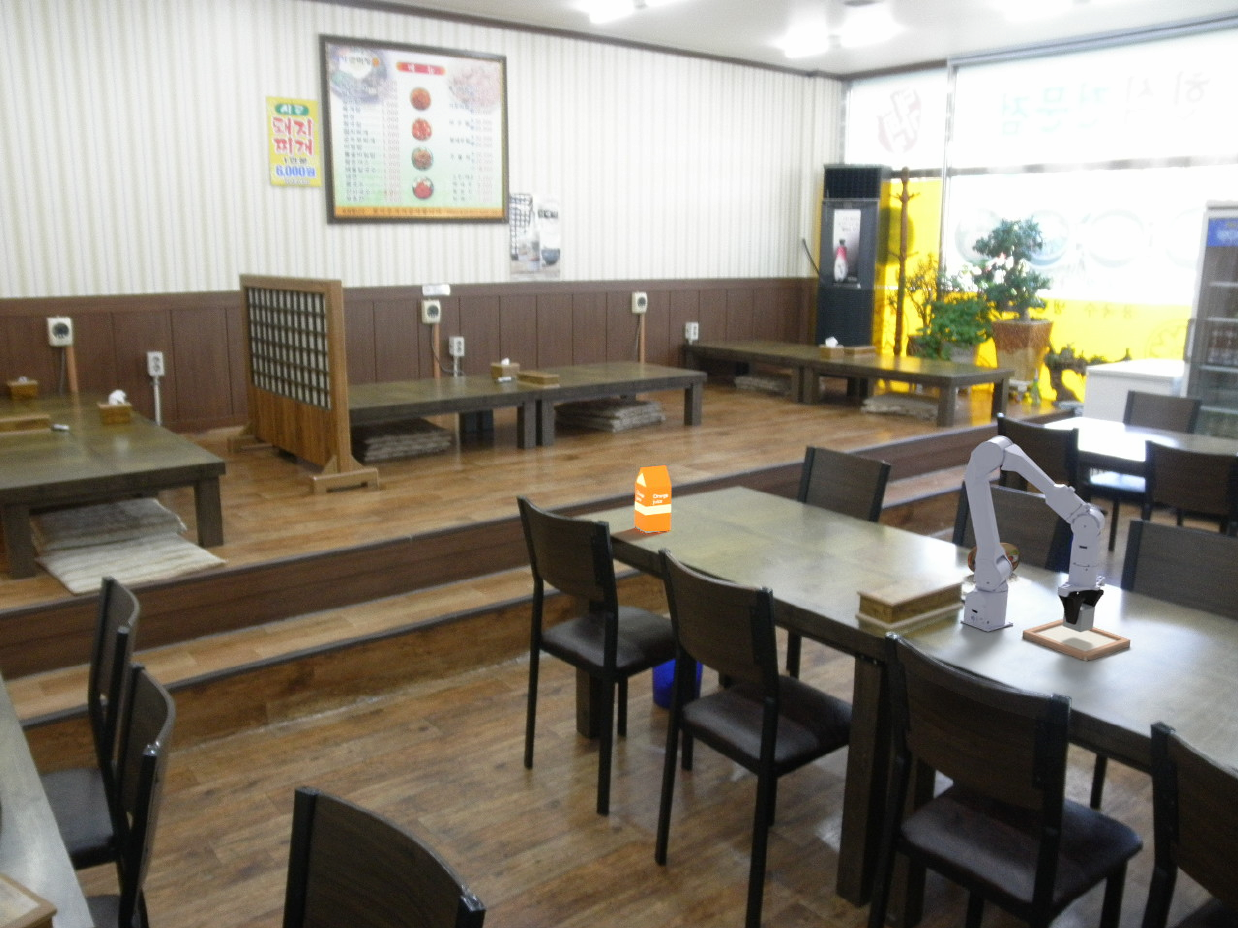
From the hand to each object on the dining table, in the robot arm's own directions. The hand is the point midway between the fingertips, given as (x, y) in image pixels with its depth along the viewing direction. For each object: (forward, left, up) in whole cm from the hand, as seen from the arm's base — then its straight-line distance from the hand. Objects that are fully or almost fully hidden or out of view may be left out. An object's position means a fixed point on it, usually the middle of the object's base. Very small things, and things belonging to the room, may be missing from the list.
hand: (1077, 620), depth 231 cm
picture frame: (0, 0, -5) cm, 5 cm away
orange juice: (-30, +125, -5) cm, 129 cm away
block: (0, 0, -2) cm, 2 cm away
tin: (+25, +42, -5) cm, 49 cm away
